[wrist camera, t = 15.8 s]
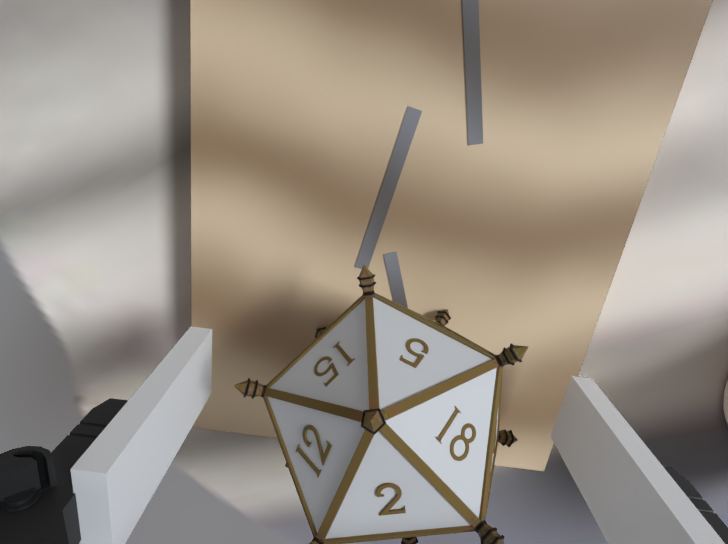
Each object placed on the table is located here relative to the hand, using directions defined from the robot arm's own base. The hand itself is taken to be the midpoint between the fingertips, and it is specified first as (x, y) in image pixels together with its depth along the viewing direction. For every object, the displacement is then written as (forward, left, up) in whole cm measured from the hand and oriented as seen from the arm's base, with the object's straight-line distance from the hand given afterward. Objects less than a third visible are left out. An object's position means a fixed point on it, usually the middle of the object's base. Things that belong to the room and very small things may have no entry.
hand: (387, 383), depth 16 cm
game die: (0, 0, -2) cm, 2 cm away
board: (-6, 0, -4) cm, 7 cm away
